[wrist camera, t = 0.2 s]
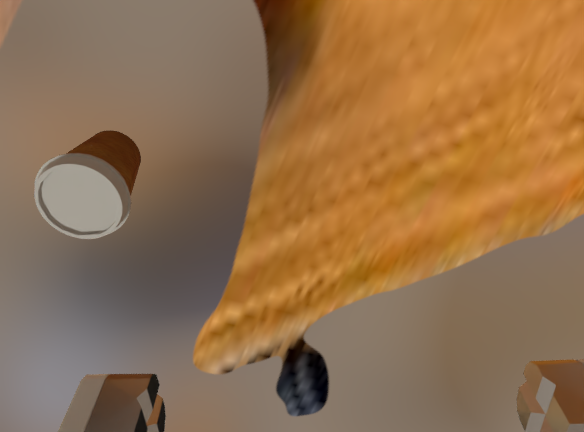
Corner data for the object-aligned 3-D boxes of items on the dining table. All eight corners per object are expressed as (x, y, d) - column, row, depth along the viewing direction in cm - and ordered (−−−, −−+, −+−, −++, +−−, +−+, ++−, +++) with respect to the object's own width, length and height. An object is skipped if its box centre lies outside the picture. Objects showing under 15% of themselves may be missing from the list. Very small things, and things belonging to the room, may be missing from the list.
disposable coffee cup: (65, 171, 61) (20, 222, 50) (85, 103, 56) (40, 143, 46) (140, 201, 63) (112, 255, 53) (165, 137, 59) (139, 183, 48)
